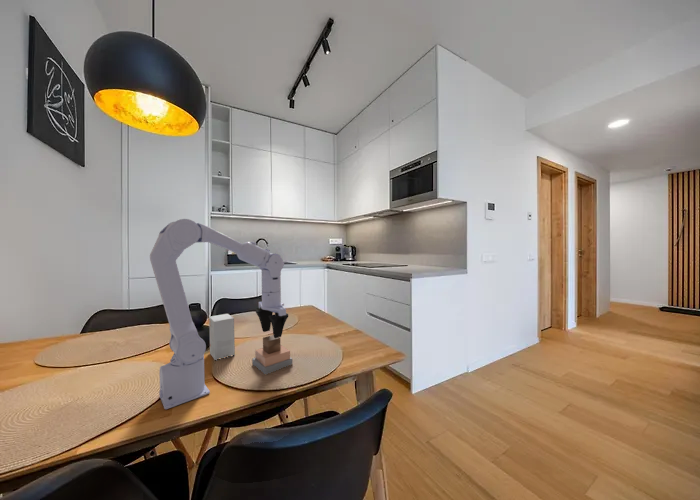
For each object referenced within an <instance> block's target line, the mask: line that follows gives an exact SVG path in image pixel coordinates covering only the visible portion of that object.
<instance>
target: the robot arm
mask: <svg viewBox="0 0 700 500" xmlns="http://www.w3.org/2000/svg"><path fill="white" fill-rule="evenodd" d="M158 233H159V234H158V235H157V238H156V241H155V243H154V246H153V247H152V250H151V252H150V253H149V261H150V264H151V268H152V270H153V274H154V277H155V281H156V284H157V287H158V291H159V294H160V297H161V300H162V304H163V307H164V311H165V314H166V318H167V321H168V324H169V332H170V339H169V344H168V345H169V348H170V350H171V351H172V352H173V355H172V356H171V358H170V362H168V363H166V364H163V365H160V366H159V393H158V394H159V398H160V401H161V404H162V405H163V409H164V410H168V409H171V408H174V407H176V406H180V405H182V404H186V403H187V402H190V401H192V400H196V399H199V398H202V397H204V396H206V395H208V394H211V391H210V389H209V388H208V387H207V385H206V383H205V353H206V350H207V345H206V342H205V340H204V339H203V338H201V337H200V335H199V332H198V329H197V328H196V326H195V322H194V321H193V319H192V314H191V311H190V308H189V303H188V301H187V297H186V292H185V290H184V285H183V282H182V279H181V276H180V271H179V268H178V265H177V260H178V258H179V257H180V256H181V255H182V254H183V252H184V251H185V250H186V249H188V248H190V247H191V246H193V245H194V244H196V243H208V244H212V245H214V246H217V247H220V248H221V249H225V250H227V251H230V252H232V253H235V254H236V256H237V258H238V259H239V260H240V261H243V262H245V263H247V264H249V265H252V266H253V267H254V266H255V267H256V268H257V267H258V268H259V269H260V270H261V301H258V309H256V310H255V313H256V315H257V317H258V319H259V322H260V326H261V330H262V332H263V333H265V332H269V331H270V330H271V327H272V334H273V335H274V338H278V337H280V338H281V337H282V335H283V332H284V331H283V330H284V327H285V324H286V322H287V320H288V318H289V313H287V308H286V307H284V306H285V303H284V302H282V301H281V300H282V297H281V296H282V295H281V294H282V293H281V292H282V291H281V289H282V288H281V275H282V273H281V271H282V270H283V268H284V267H285V266H284V265H285V261H283V257H282V256H281V255H280V254H278V253H276V252H275V253H274V252H270V249H269V248H264V247H263V248H262V247H261V246H259V245H257V242H255V241H245V242H240V241H238V240H236V239H234V238H232V237H229V235H226V234H225V233H222V232H220V231H218V230H216V229H214V228H212V227H210V226H208V225H206V224H203V223H200V222H198V223H197V222H195V221H194V220H192V219H189V218H181V219H177V220H176V221H172V222H170V223H168V224H167V225H166V226H165V227H164V228H163V229H161V230H160V231H159V232H158ZM273 313H274V314H273Z"/></svg>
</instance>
